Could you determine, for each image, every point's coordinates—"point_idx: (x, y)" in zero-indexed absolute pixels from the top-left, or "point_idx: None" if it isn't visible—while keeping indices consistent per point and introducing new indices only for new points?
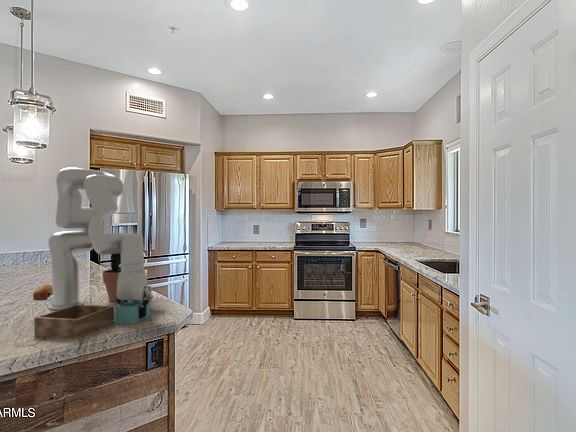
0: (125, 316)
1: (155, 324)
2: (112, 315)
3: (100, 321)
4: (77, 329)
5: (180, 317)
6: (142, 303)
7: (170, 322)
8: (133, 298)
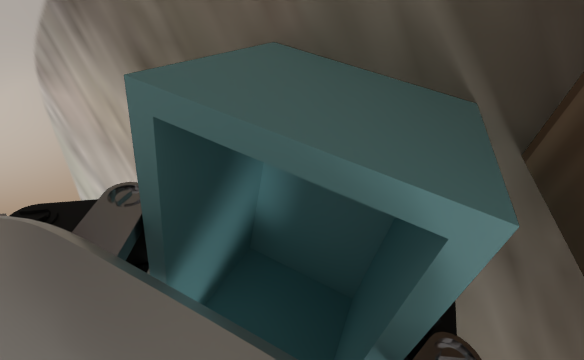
0: (321, 80)
1: (104, 28)
2: (564, 180)
3: None
4: None
5: (76, 162)
6: (93, 215)
7: (56, 69)
8: (57, 276)
